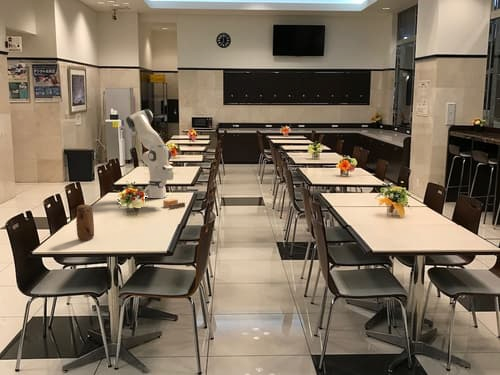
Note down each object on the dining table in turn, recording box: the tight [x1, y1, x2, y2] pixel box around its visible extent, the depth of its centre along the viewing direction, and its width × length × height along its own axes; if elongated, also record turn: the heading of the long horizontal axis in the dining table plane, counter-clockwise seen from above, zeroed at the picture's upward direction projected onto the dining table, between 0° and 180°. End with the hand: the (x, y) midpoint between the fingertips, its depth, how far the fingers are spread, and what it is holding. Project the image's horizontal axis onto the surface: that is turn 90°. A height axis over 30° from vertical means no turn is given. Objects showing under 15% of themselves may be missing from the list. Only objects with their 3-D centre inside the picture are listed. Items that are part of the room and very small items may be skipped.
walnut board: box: [168, 202, 186, 210], centre depth 385 cm, size 2×13×3 cm, turn 135°
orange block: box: [162, 198, 179, 209], centre depth 391 cm, size 6×9×5 cm, turn 139°
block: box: [75, 204, 95, 242], centre depth 300 cm, size 11×8×20 cm
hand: (163, 184), depth 394 cm, fingers closed
